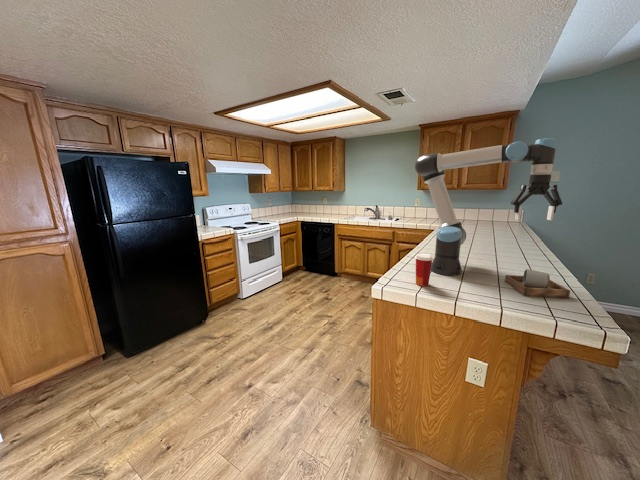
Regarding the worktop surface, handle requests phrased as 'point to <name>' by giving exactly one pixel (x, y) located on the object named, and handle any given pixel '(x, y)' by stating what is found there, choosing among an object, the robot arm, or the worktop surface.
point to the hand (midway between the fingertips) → (533, 219)
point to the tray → (550, 292)
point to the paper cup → (423, 269)
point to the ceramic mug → (536, 279)
